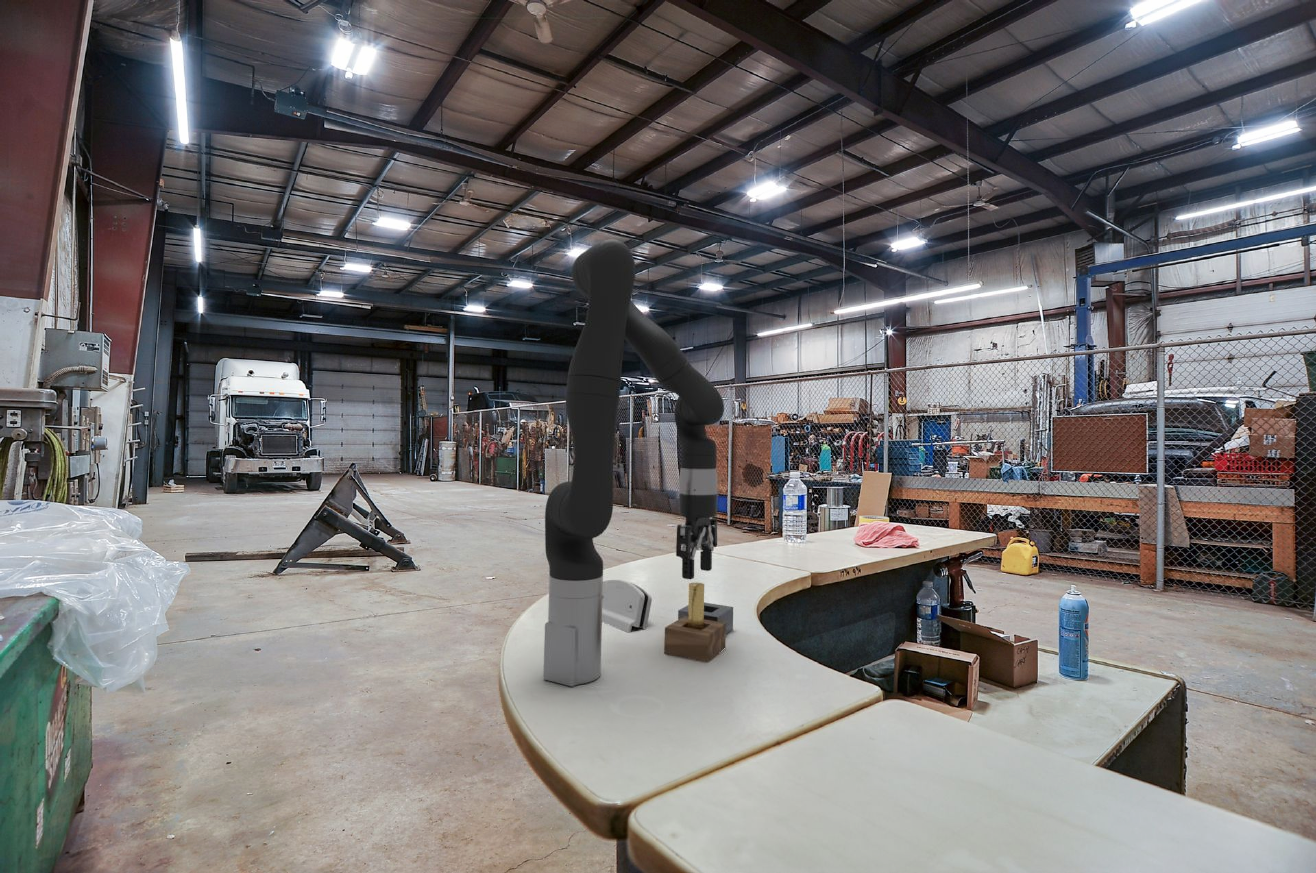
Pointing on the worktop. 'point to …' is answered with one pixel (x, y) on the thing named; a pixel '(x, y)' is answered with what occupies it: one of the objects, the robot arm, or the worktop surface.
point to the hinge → (625, 605)
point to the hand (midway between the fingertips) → (697, 574)
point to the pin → (696, 606)
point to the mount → (695, 640)
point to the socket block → (714, 614)
